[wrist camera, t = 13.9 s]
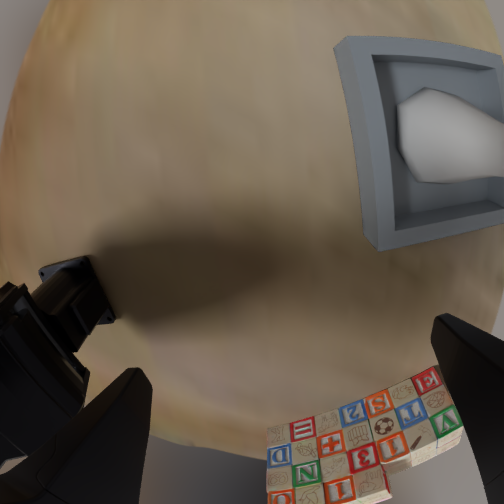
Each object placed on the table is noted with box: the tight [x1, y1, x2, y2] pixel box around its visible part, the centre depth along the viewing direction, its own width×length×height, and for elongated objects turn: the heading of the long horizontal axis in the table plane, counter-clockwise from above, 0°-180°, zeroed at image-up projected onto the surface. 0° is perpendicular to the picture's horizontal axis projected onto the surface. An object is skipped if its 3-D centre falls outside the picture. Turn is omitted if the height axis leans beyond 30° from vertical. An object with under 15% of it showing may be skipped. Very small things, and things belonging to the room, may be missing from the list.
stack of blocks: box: [267, 367, 464, 504], centre depth 24 cm, size 21×6×12 cm, turn 117°
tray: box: [333, 36, 504, 252], centre depth 15 cm, size 13×13×3 cm
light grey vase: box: [397, 87, 504, 185], centre depth 11 cm, size 7×7×10 cm
